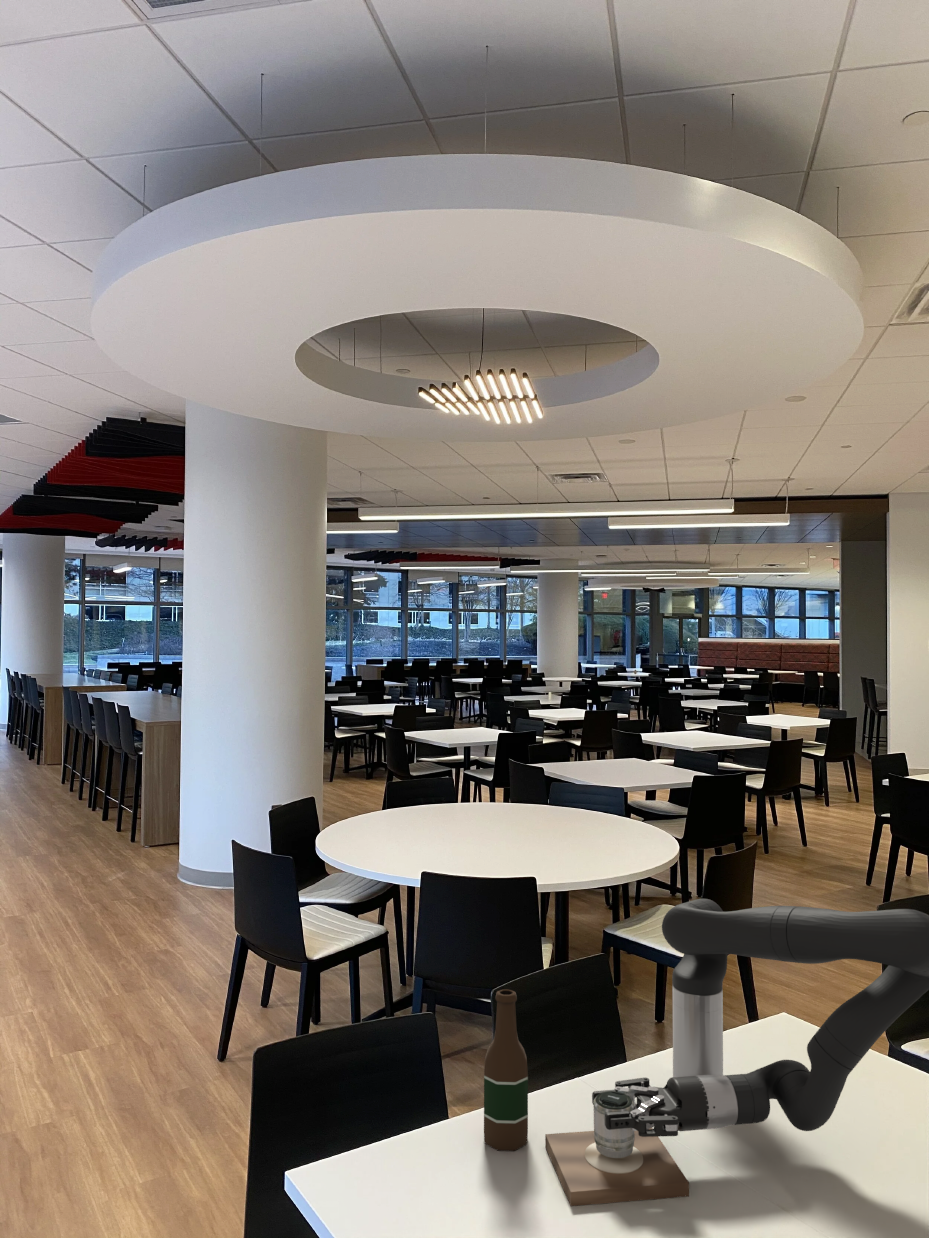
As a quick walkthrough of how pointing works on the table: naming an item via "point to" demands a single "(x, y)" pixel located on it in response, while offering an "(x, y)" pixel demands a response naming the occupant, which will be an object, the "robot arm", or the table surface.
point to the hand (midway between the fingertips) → (599, 1110)
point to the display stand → (614, 1170)
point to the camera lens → (614, 1140)
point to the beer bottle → (505, 1081)
